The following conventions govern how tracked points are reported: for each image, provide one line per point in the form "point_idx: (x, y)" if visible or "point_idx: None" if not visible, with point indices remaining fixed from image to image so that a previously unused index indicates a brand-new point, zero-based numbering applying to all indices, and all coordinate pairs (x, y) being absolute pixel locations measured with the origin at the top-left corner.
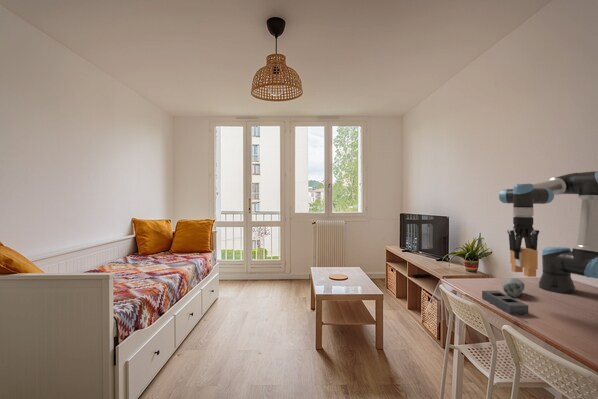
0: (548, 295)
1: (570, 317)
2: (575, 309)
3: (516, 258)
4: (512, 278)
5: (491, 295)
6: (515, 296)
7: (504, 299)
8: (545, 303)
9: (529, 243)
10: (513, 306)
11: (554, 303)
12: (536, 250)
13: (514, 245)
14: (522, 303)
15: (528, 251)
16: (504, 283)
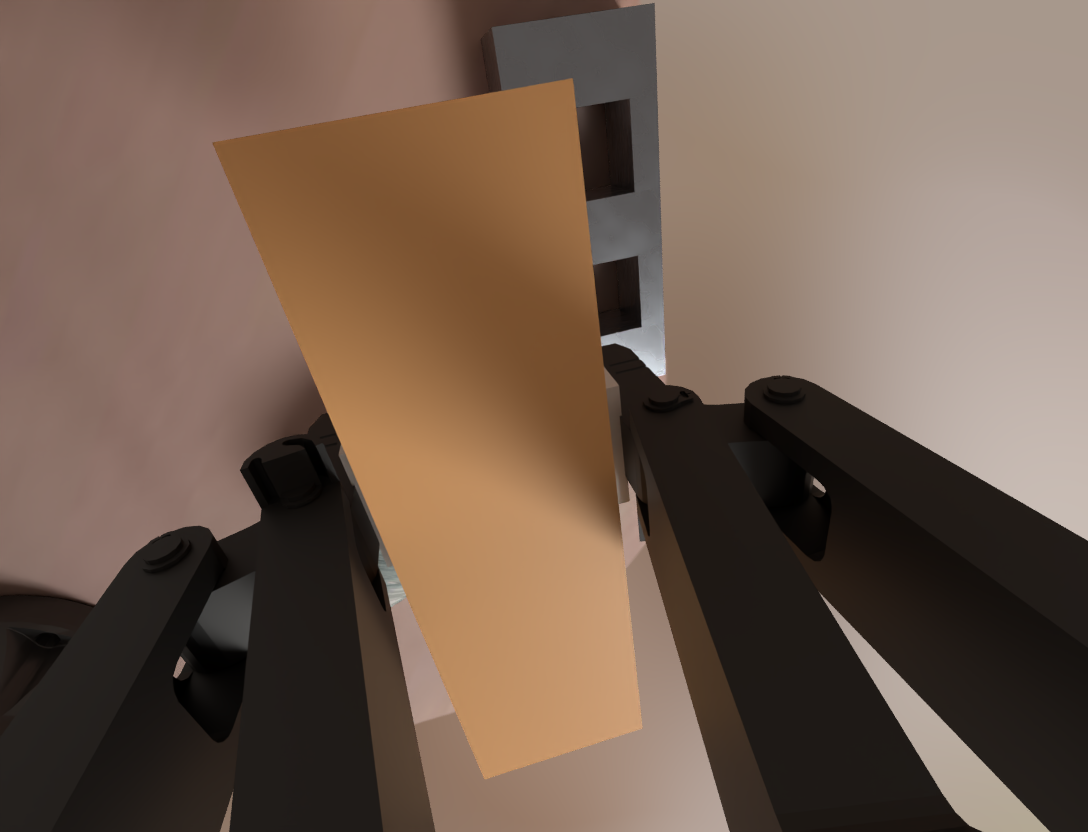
0: (148, 520)
1: (143, 3)
2: (28, 235)
3: (627, 350)
4: (392, 576)
5: (658, 270)
6: None
7: (602, 197)
8: (237, 338)
9: (342, 689)
10: (619, 9)
11: (163, 352)
12: (254, 159)
13: (892, 461)
14: (517, 82)
15: (569, 145)
16: None
